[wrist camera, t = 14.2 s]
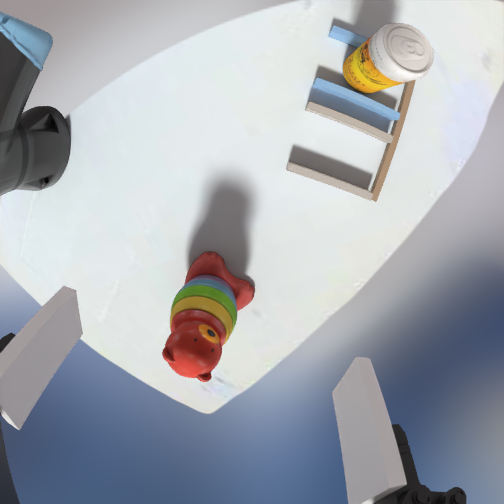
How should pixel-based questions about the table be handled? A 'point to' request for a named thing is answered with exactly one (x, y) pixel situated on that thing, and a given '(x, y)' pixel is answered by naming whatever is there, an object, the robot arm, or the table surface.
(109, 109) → the table surface
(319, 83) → the rack
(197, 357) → the stacking bear
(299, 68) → the table surface
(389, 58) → the beer can
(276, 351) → the table surface
